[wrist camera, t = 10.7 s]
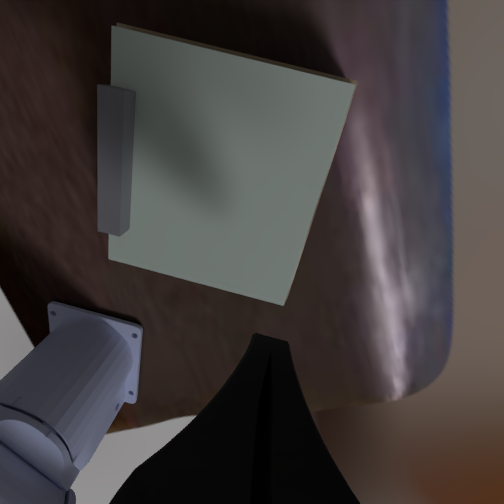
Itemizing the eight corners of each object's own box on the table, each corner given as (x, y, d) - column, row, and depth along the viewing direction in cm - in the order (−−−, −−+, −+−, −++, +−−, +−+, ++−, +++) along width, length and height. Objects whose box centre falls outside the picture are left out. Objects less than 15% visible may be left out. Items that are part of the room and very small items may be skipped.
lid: (284, 298, 19) (282, 317, 18) (114, 253, 20) (97, 267, 18) (353, 85, 14) (359, 84, 12) (120, 28, 14) (96, 19, 13)
